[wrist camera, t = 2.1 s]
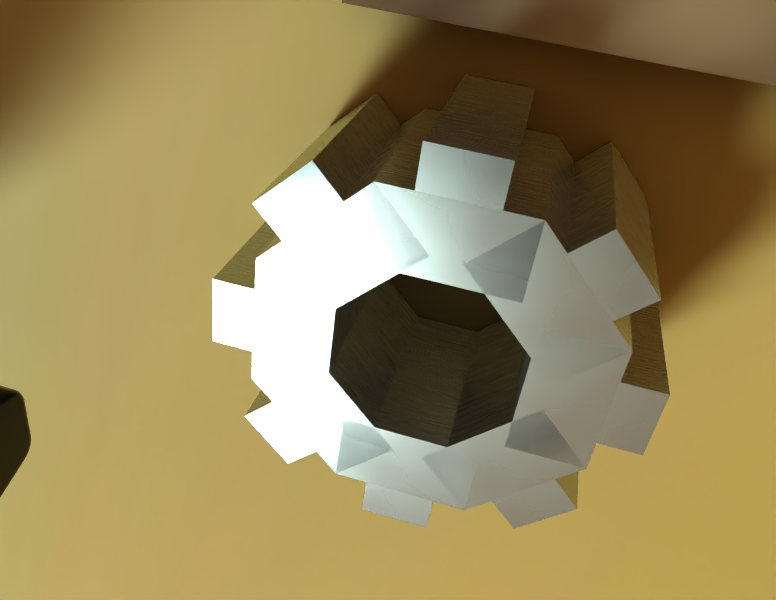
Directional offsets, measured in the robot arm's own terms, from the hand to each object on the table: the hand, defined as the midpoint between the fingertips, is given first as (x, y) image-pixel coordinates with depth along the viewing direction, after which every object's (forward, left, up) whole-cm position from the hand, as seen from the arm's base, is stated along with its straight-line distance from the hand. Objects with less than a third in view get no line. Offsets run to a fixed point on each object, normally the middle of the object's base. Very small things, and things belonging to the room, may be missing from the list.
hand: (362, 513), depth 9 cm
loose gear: (0, 0, -7) cm, 7 cm away
